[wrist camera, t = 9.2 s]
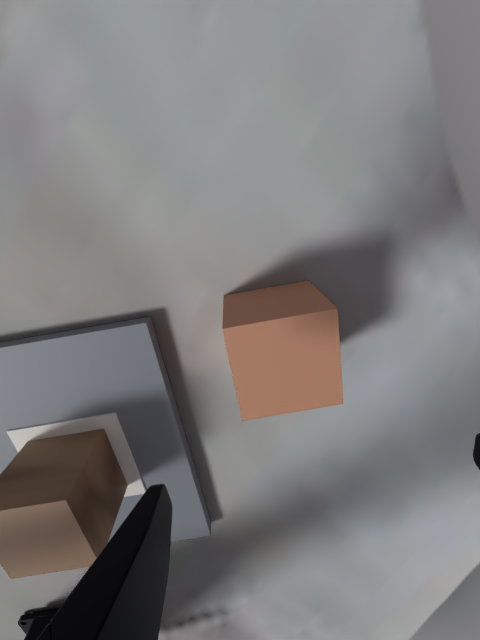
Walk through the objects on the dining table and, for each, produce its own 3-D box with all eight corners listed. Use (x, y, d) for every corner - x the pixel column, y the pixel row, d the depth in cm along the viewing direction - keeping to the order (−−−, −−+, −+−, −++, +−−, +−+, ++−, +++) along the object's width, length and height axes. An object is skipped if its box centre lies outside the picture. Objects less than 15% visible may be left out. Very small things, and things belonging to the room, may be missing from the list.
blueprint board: (211, 522, 25) (210, 537, 24) (41, 549, 25) (33, 564, 24) (150, 316, 18) (145, 323, 17) (-79, 355, 18) (-97, 365, 17)
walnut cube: (127, 485, 21) (99, 564, 17) (57, 496, 21) (10, 578, 17) (104, 428, 19) (65, 500, 15) (27, 441, 20) (-35, 516, 15)
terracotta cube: (315, 355, 20) (343, 403, 15) (238, 368, 20) (242, 420, 15) (308, 279, 18) (337, 308, 13) (223, 295, 18) (222, 328, 13)
